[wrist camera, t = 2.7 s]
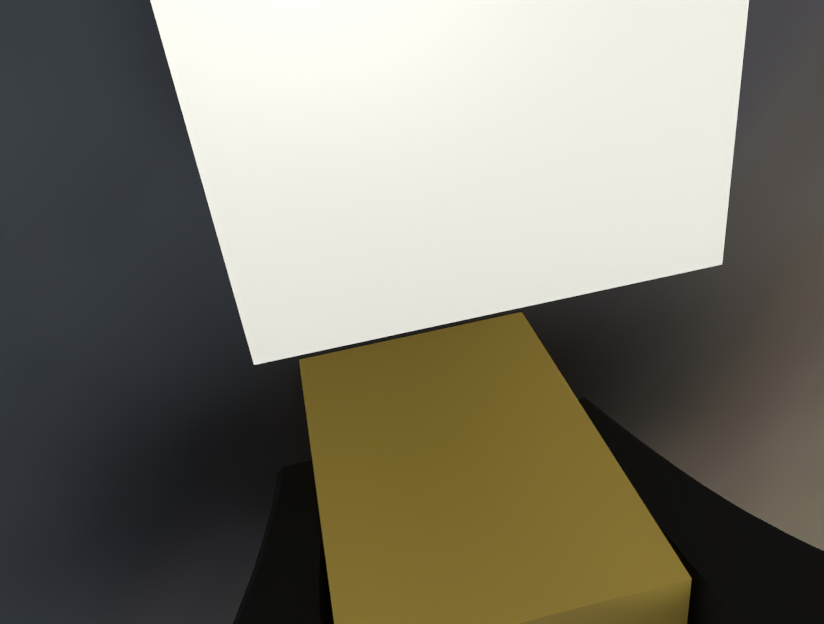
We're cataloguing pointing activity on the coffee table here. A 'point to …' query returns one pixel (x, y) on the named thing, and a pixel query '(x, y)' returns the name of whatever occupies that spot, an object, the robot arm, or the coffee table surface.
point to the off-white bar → (452, 153)
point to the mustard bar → (476, 489)
